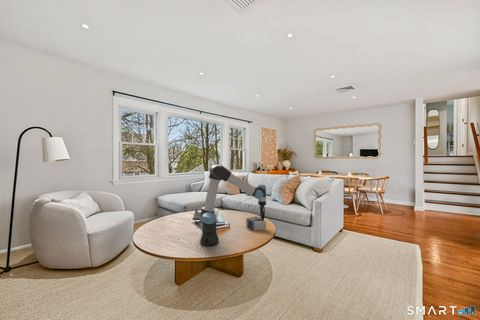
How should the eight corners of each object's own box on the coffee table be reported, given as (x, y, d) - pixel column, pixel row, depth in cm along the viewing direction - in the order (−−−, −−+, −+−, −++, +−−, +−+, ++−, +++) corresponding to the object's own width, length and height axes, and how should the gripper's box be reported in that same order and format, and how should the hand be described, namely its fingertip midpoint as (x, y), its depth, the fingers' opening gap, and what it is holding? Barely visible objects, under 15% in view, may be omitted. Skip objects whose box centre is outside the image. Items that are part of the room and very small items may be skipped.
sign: (212, 224, 227) (217, 206, 227) (212, 225, 224) (217, 207, 223) (192, 218, 225) (198, 201, 225) (192, 219, 222) (197, 201, 222)
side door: (252, 230, 197) (252, 222, 196) (252, 230, 198) (252, 221, 198) (266, 230, 197) (266, 221, 197) (265, 229, 199) (265, 221, 199)
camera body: (250, 230, 197) (250, 220, 197) (244, 228, 204) (244, 218, 204) (261, 227, 205) (261, 217, 205) (255, 225, 213) (255, 215, 212)
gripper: (267, 202, 194) (268, 227, 195) (264, 199, 207) (264, 222, 208) (259, 202, 194) (260, 227, 195) (256, 199, 207) (257, 223, 207)
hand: (262, 225), depth 201 cm, fingers closed
